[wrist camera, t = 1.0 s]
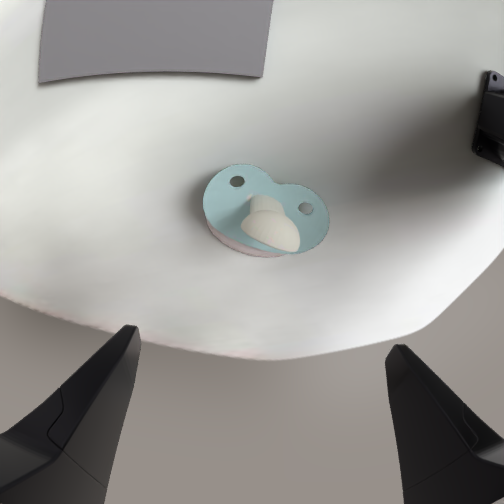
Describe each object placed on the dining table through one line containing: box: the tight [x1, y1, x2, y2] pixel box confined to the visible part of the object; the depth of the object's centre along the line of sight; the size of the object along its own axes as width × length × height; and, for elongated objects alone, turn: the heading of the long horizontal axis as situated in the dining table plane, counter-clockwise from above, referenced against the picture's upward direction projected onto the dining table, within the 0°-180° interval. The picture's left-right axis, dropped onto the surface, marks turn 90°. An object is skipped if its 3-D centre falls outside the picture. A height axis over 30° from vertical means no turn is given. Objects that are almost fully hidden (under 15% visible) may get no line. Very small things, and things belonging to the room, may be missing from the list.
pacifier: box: [203, 164, 329, 257], centre depth 17 cm, size 7×6×6 cm
